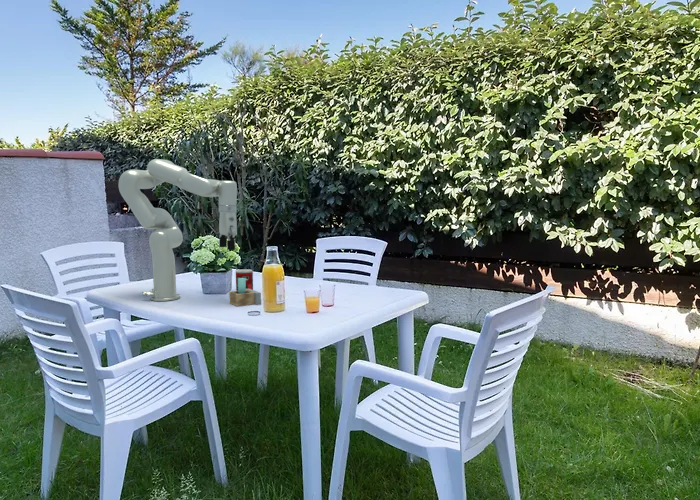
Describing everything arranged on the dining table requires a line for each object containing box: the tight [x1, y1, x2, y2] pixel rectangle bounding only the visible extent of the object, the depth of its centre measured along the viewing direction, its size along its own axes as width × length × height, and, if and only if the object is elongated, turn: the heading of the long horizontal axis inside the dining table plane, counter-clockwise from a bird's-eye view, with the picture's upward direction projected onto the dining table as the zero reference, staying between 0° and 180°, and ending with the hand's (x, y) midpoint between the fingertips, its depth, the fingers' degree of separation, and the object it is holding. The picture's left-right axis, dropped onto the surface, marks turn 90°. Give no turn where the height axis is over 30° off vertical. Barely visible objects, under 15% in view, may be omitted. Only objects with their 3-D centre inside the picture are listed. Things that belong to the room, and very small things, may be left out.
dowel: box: [238, 278, 246, 294], centre depth 210 cm, size 3×3×10 cm
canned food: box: [235, 268, 254, 291], centre depth 232 cm, size 8×8×11 cm
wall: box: [246, 289, 262, 306], centre depth 214 cm, size 2×12×5 cm, turn 36°
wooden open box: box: [229, 290, 256, 307], centre depth 211 cm, size 8×8×5 cm
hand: (226, 248), depth 214 cm, fingers open, 9 cm apart
